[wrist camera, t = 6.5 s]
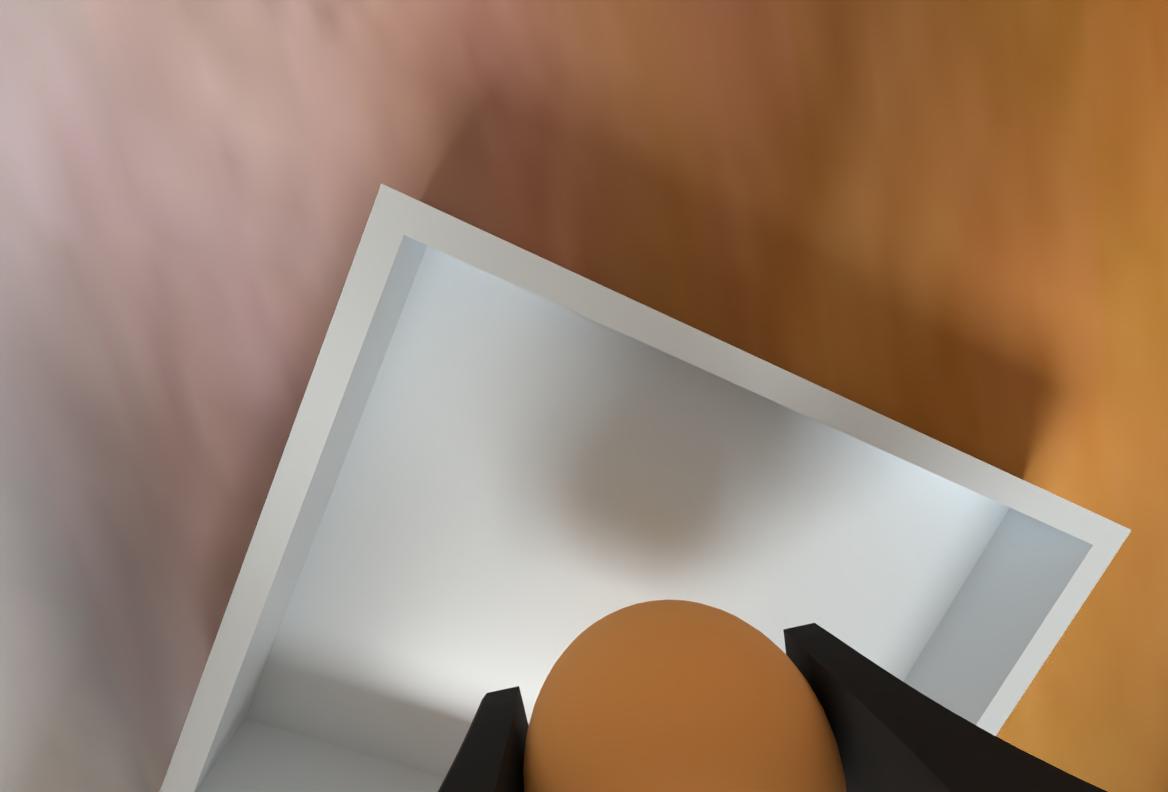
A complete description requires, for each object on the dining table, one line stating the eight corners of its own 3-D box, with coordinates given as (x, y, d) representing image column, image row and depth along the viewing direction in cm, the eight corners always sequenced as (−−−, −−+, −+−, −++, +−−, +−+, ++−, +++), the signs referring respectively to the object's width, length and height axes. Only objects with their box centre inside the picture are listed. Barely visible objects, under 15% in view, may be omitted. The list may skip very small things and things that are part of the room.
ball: (806, 597, 11) (1008, 838, 6) (699, 786, 12) (807, 1127, 7) (588, 512, 11) (630, 711, 6) (488, 720, 11) (450, 1052, 6)
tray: (1023, 483, 14) (1131, 530, 11) (782, 875, 16) (829, 988, 13) (416, 204, 11) (381, 183, 9) (225, 711, 13) (152, 812, 11)
